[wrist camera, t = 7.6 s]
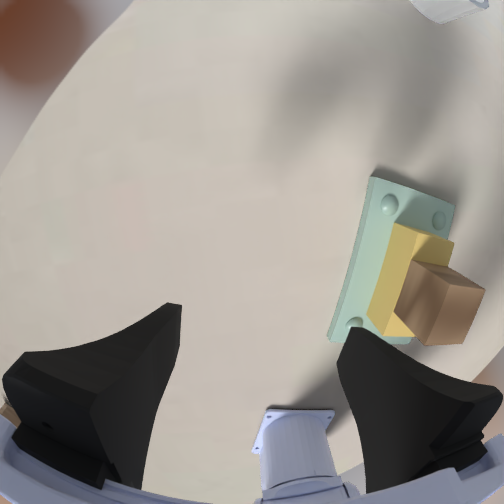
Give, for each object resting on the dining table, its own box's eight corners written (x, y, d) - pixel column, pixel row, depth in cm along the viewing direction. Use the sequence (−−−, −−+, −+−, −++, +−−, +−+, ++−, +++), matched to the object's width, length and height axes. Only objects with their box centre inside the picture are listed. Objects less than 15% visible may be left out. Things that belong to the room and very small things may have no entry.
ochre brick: (401, 316, 22) (420, 336, 18) (365, 314, 21) (382, 336, 18) (429, 232, 19) (454, 242, 16) (393, 222, 19) (418, 232, 16)
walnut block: (430, 314, 18) (462, 343, 13) (393, 311, 17) (424, 345, 13) (447, 266, 17) (485, 289, 12) (410, 259, 16) (449, 284, 12)
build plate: (404, 338, 24) (409, 344, 23) (326, 335, 23) (330, 342, 22) (448, 203, 20) (456, 205, 19) (369, 176, 19) (376, 176, 18)
